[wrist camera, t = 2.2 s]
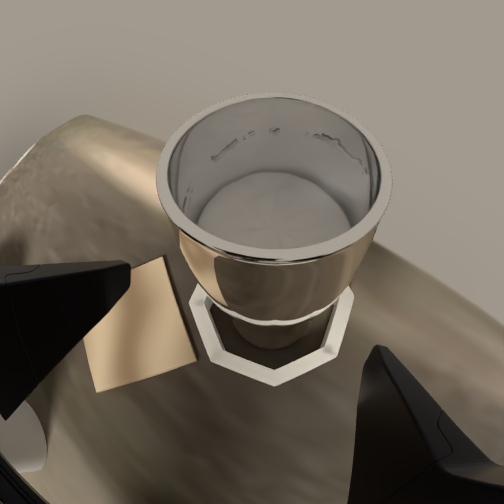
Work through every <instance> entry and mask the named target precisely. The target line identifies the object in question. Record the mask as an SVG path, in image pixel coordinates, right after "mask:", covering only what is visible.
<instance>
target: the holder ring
mask: <svg viewBox="0 0 504 504" xmlns="http://www.w3.org/2000/svg"><path fill="white" fill-rule="evenodd" d="M353 300H354V294H353V293H352V291H351V289H350V287H349V286H347V288H346V289H345V290H344V291H343V293H342V294H341V295H340V296H339V297H338V299H337V300H336V301H335V302H334V303H333V305H334V306H333V310H332V313H331V316H330V320H329V323H328V326H327V329H326V332H325V335H324V338H323V341H322V344H321V347H320V349H318V350H316V351H314V352H312V353H310V354H308V355H306V356H304V357H302V358H300V359H298V360H296V361H293V362H291V363H289V364H287V365H285V366H283V367H280V368H278V369H276V370H273V369H270V368H267V367H265V366H262V365H259V364H257V363H254V362H251V361H249V360H246V359H244V358H241V357H239V356H236V355H234V354H231V353H229V352H226V350H225V348H224V345H223V343H222V340H221V338H220V335H219V333H218V330H217V328H216V325H215V323H214V320H213V318H212V315H211V313H210V308H211V306H212V304H213V302H212V301H211V299H210V298H209V297H208V296H207V294H206V293H205V292H204V290H203V289H202V288H201V286H200V285H199V284H198V285H197V287H196V289H195V291H194V293H193V295H192V297H191V299H190V301H189V305H190V308H191V310H192V313H193V316H194V319H195V322H196V324H197V327H198V330H199V332H200V335H201V338H202V340H203V343H204V346H205V348H206V351H207V353H208V356H209V358H210V361H211V362H213V363H215V364H218V365H220V366H223V367H225V368H227V369H230V370H232V371H235V372H237V373H240V374H242V375H245V376H247V377H250V378H253V379H255V380H258V381H261V382H263V383H266V384H269V385H272V386H274V387H275V386H277V385H280V384H282V383H284V382H286V381H288V380H291V379H293V378H295V377H297V376H299V375H301V374H304V373H306V372H308V371H310V370H312V369H314V368H316V367H318V366H320V365H322V364H324V363H326V362H328V361H330V360H331V359H333V358H335V357H337V354H338V351H339V348H340V345H341V342H342V339H343V335H344V332H345V329H346V325H347V322H348V318H349V315H350V311H351V308H352V304H353Z"/></svg>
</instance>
